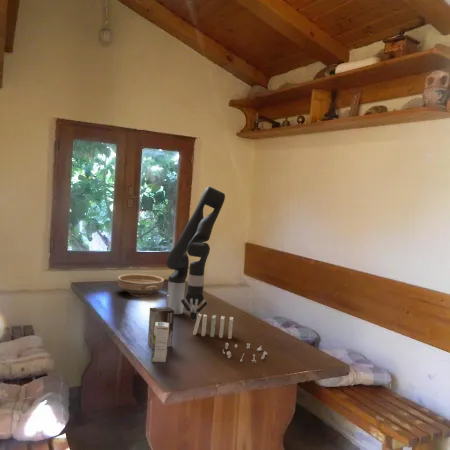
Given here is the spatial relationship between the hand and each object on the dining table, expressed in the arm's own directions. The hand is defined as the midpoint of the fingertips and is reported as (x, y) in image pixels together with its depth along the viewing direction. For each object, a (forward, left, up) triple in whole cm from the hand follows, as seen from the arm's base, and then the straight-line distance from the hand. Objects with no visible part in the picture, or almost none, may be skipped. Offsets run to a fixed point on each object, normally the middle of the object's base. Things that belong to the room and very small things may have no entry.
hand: (193, 319), depth 229 cm
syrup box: (-9, -38, -7) cm, 39 cm away
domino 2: (+5, 0, -7) cm, 9 cm away
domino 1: (+1, 0, -6) cm, 7 cm away
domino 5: (+18, 0, -7) cm, 19 cm away
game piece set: (+25, -22, -7) cm, 34 cm away
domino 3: (+10, 0, -7) cm, 12 cm away
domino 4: (+14, 0, -7) cm, 15 cm away
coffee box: (-12, -21, -7) cm, 25 cm away
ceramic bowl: (-41, +69, -7) cm, 81 cm away
